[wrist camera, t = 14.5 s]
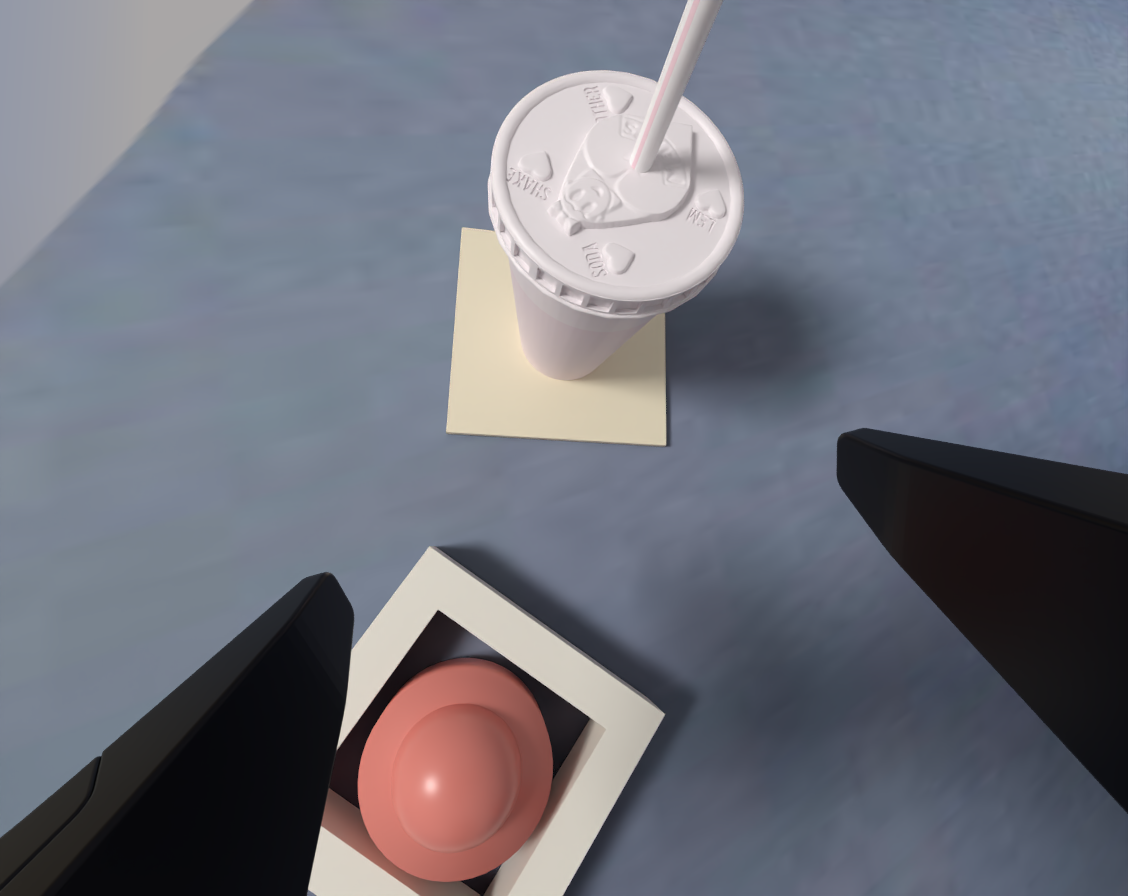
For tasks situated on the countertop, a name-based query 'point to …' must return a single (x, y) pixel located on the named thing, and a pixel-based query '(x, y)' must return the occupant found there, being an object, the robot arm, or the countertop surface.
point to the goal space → (529, 398)
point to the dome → (456, 771)
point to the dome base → (617, 710)
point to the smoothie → (611, 204)
